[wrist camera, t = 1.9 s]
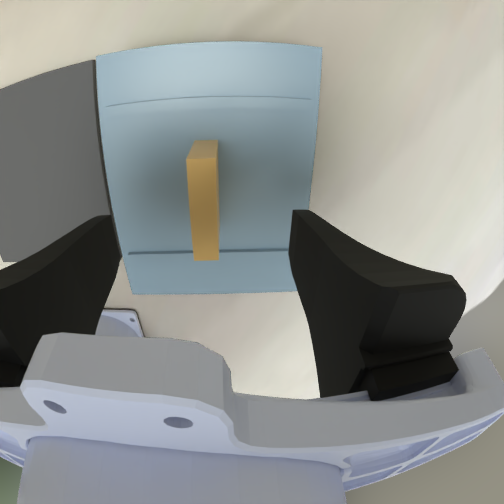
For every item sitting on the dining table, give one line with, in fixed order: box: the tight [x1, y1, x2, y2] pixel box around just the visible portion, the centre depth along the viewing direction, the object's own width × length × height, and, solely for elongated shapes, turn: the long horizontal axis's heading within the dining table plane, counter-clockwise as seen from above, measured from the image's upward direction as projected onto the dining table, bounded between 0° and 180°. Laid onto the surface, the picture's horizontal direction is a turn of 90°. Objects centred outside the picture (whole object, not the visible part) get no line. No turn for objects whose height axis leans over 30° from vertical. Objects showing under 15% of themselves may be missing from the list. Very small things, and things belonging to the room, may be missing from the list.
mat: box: [0, 60, 122, 262], centre depth 19 cm, size 16×14×1 cm
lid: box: [96, 41, 322, 294], centre depth 15 cm, size 15×11×5 cm
